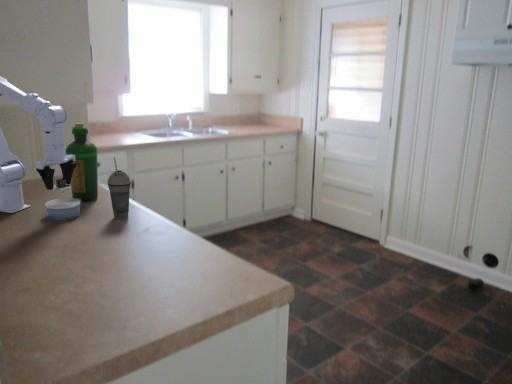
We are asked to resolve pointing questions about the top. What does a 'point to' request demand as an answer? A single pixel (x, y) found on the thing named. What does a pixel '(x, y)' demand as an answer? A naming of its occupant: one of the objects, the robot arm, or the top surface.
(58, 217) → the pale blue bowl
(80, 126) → the bottle
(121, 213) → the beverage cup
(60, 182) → the knobbed lid
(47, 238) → the top surface
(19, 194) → the robot arm
